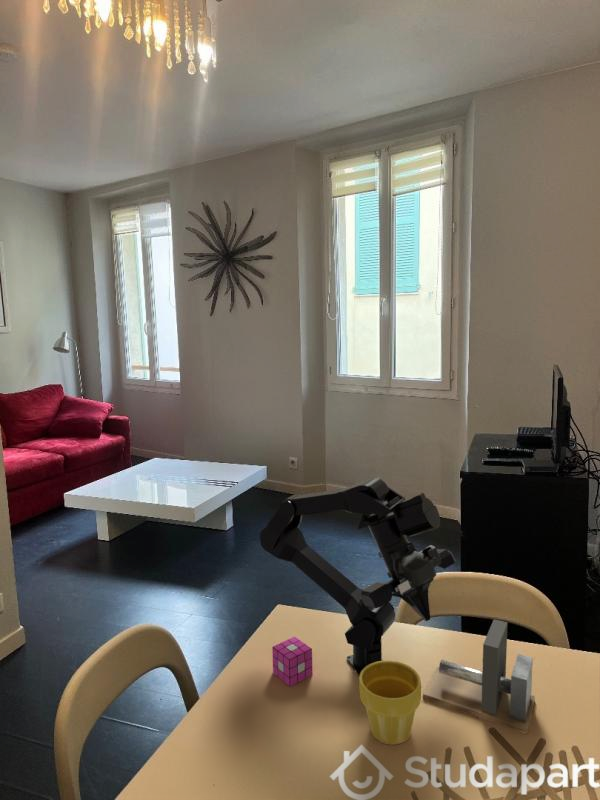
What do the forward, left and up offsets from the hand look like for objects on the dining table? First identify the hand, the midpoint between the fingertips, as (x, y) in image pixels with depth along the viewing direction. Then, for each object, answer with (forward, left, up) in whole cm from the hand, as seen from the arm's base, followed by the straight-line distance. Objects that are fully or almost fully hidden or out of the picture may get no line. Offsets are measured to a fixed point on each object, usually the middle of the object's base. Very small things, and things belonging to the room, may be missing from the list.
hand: (427, 620), depth 104 cm
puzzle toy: (-13, -23, -14) cm, 29 cm away
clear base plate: (+7, +6, -13) cm, 16 cm away
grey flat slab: (+9, +8, -12) cm, 17 cm away
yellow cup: (+8, -12, -14) cm, 20 cm away
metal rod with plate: (+8, +7, -12) cm, 16 cm away
